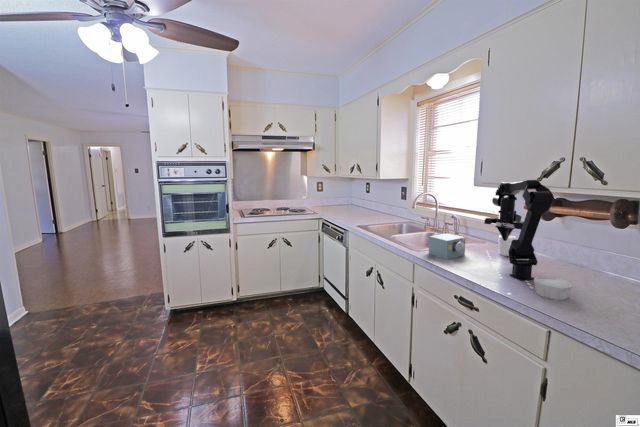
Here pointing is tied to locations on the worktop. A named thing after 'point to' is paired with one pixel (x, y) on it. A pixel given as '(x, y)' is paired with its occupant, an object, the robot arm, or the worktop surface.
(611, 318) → the worktop surface
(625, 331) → the worktop surface
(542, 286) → the ramekin
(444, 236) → the socket block
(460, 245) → the plug
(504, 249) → the white cup
